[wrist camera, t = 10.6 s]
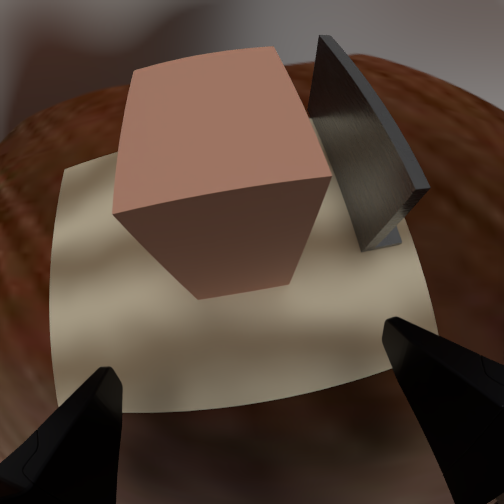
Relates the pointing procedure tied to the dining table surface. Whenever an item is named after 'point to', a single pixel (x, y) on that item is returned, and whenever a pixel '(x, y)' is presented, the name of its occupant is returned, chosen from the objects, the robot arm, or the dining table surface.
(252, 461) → the dining table surface
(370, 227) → the bookend
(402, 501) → the dining table surface
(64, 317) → the beige cloth placemat
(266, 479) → the dining table surface
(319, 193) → the salmon pink rectangular block
